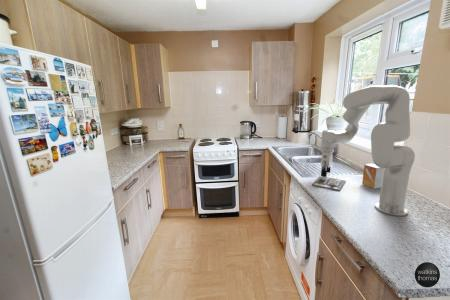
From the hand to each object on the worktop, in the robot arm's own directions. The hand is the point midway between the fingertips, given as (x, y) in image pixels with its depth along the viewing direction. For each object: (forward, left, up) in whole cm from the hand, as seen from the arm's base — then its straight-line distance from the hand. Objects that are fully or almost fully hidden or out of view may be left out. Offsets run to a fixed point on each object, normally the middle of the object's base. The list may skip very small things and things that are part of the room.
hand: (325, 174), depth 143 cm
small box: (+6, -25, -5) cm, 27 cm away
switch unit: (-5, -3, -4) cm, 8 cm away
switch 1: (-3, 0, -3) cm, 5 cm away
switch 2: (-9, -7, -3) cm, 12 cm away
